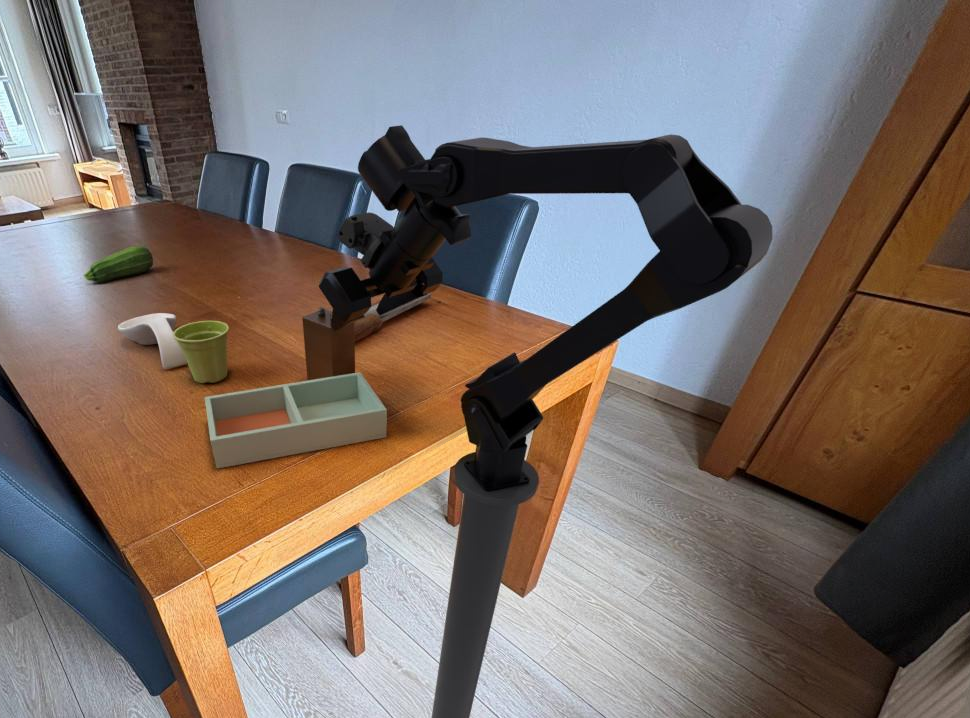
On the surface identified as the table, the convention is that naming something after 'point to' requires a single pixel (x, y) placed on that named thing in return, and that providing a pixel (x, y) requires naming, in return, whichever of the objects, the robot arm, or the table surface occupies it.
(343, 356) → the knife block
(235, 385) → the table surface
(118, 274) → the vegetable
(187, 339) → the plant pot
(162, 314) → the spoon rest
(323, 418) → the divided tray
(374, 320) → the meat cleaver
